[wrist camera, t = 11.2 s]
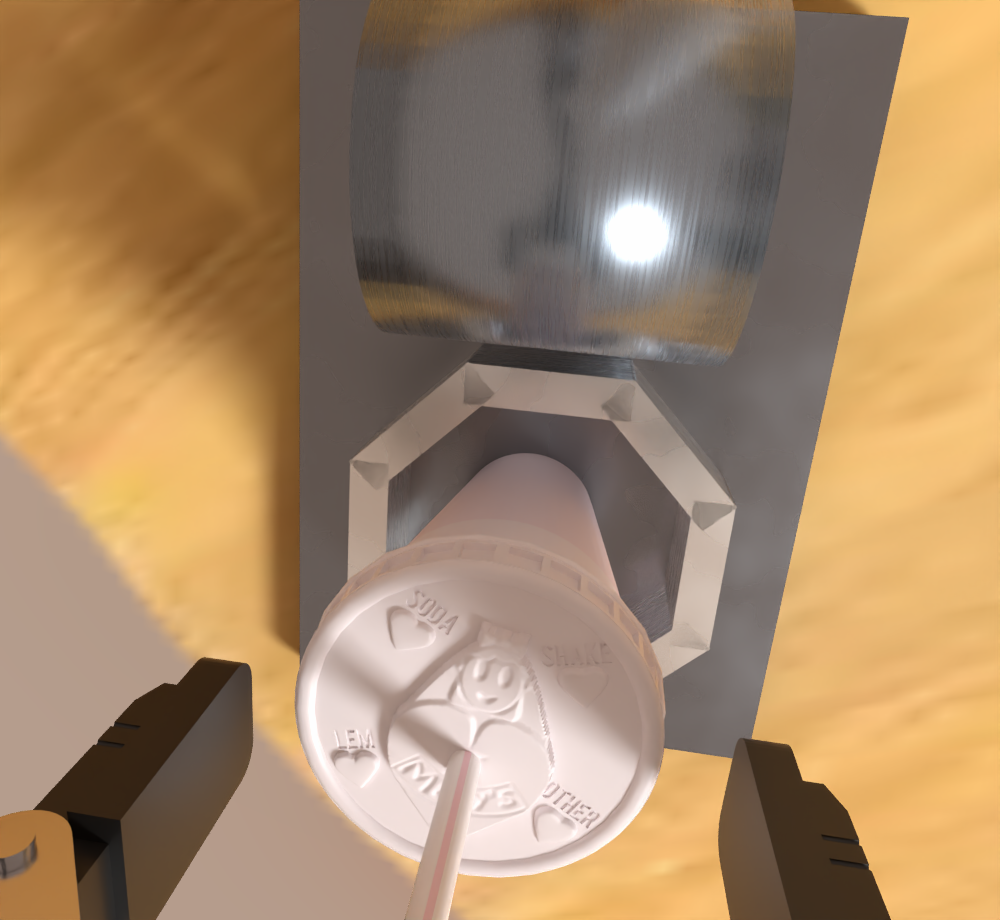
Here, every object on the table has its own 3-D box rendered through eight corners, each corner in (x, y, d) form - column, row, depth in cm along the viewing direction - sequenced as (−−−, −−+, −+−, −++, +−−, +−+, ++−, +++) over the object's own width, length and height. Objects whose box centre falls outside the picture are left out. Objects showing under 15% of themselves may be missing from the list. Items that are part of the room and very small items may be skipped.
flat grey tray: (320, -5, 20) (134, -142, 12) (886, 31, 19) (1093, -96, 11) (316, 667, 27) (191, 869, 19) (738, 729, 25) (801, 974, 17)
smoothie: (395, 580, 23) (125, 1069, 10) (444, 376, 21) (183, 662, 8) (603, 641, 23) (603, 1223, 10) (673, 442, 21) (791, 845, 8)
